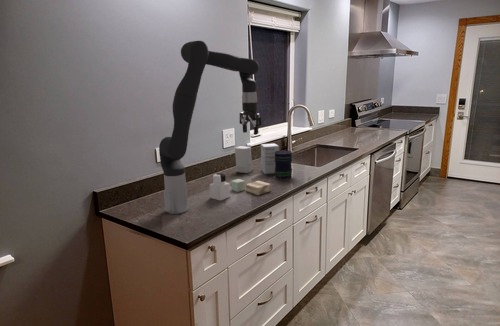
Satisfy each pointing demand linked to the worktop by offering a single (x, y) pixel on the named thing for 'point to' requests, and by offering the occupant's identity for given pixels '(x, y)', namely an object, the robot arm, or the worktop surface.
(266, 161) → the supplement box
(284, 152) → the storage jar
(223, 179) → the medicine bottle
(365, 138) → the worktop surface
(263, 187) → the maple box
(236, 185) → the sage cube
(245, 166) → the skincare box
